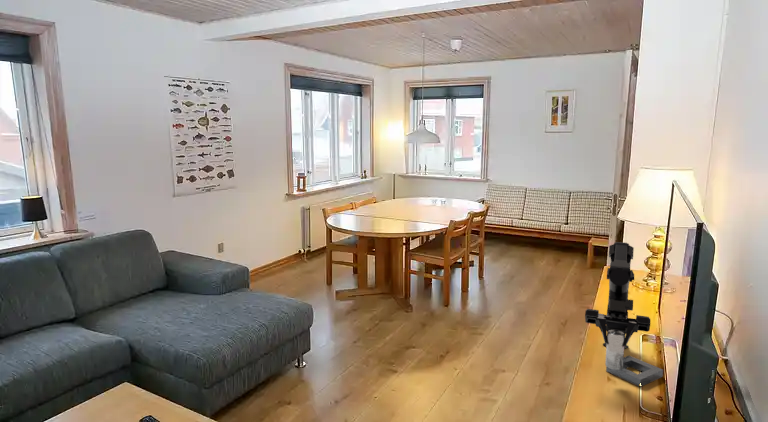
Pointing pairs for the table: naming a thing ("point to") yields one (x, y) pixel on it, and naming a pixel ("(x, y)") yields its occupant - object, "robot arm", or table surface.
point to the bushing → (615, 349)
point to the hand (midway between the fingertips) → (615, 345)
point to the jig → (648, 370)
